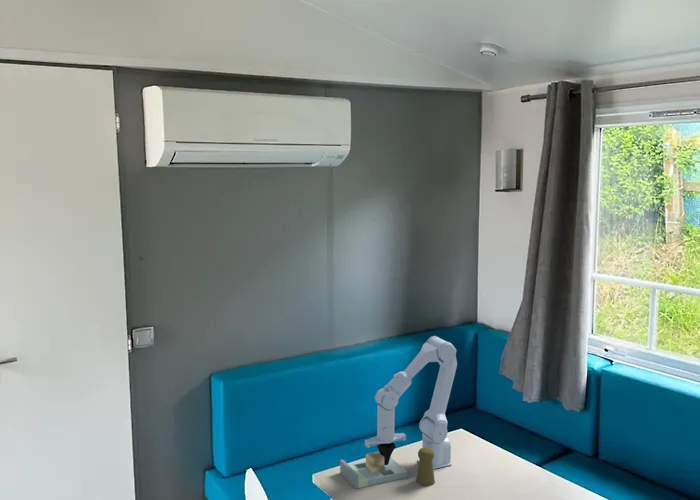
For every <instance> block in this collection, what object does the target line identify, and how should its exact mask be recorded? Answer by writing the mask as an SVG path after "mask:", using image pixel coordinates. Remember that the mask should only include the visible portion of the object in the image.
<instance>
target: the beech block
mask: <svg viewBox="0 0 700 500" xmlns="http://www.w3.org/2000/svg"><path fill="white" fill-rule="evenodd" d="M365 462H366V468H367V469H368V470H369V471H370V472H371V473H375V472H380V471H384V456H382V455H381V454H380V452H379V451H375V452H370V453H366V454H365Z"/></svg>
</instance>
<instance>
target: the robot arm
mask: <svg viewBox="0 0 700 500" xmlns="http://www.w3.org/2000/svg"><path fill="white" fill-rule="evenodd" d="M456 354H457V349H456V347H455V346H454V345H453V344H452V343H451V342H449V341H446V340H444V339H442V338H440V337H439V336H437V335H433V336H430V337H429V338H428V339H427V340H426V341H425V342H424V343H423V344H422V347H421V349H420V351H419V352H418V353H417V355H416V356H415V357H414V358H413V359H412V361H411V362H410V363H409V364H408V365H407V367H406V368H405V369H404V370H403V371H399V372H397V373H395V374H393V378H391V380H389V382H388V383H387V384H385V385H384V386H383V388H380V389H378V390H377V392H376V394H375V395H374V398H373V399H374V400H375V403H377V415H376V417H377V418H376V419H377V423H376V426H377V429H376V430H377V431H376V435H375V436H374V437H370V438H368V439H365V440H364V447H366V448H368V449H369V448H371V447H374V446H376V448H377V449H378V452H379V453H380V454H381V455H382V456H384V465H388V464H389V460H390V457H391V458H392V454H393V451H394V450H395V449H396V444H395V443H396V442H400V441H403V442H404V441H405V442H406V441H407V434H405V433H404V432H400V433H399V432H398V433H395V412H396V410H395V407H397V405H398V404H399V399H400V398H401V396H402V395H403V394H404V393H405V392H406V391H407V389H408V388H409V387H410V386H411V385H412V380H413V378H414V377H415V376H416V375H417V374H418V373H419V372H421V370H422V369H423V368H424V367H425V366H426V365H427V364H428V363H436V362H437V363H438V364H439V369H438V373H437V378H436V381H435V386H434V390H433V394H432V398H431V402H430V406H429V409H427V410H426V411H424V414H423V417H422V418H421V419H420V421H419V425H418V427H419V430H420V432H421V433H422V434H421V435H422V447H421V448H430V449H432V450H433V452H434V458H433V459H432V462H433V470H436V469H439V468H444V467H449V466H452V462H451V459H452V458H451V457H452V456H451V455H452V454H451V452H452V449H451V448H452V446H451V441H450V440H449V438H448V437H447V436H448V424H449V423H448V420H447V417H446V411H447V408H448V403H449V399H450V396H451V391H452V387H453V383H454V379H455V376H456V370H457V367H458V361H457V355H456ZM419 460H420V459H419V458H418V459H416V461H417V462H418V463H419Z"/></svg>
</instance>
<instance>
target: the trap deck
mask: <svg viewBox="0 0 700 500" xmlns="http://www.w3.org/2000/svg"><path fill="white" fill-rule="evenodd" d="M339 461H340V462H339V467H340V469H339V471H340V472H339V473H340V475H342V476H343V478H344V479H346V481H348V483H349V484H350V485H351V486H352V487H353V488H354V489H356V488H357V489H360V488H365V487H370V486H374V485H378V484H383V483H387V482H391V481H396V480H401V479H405V478H408V470H406V469H405V468H404V467H403V466H401V465H400V464H399V463H398V462H397V461H395V459H393V458H392V456H391V457H390V460H389V464H388V465H384V471H380V472H375V473H371V472H370V471H369V470H368V469H367V468H366V461H363V462H358V463H354V464H348V463H347V462H346V461H345V459H340V460H339ZM357 489H356V490H357Z"/></svg>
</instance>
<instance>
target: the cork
mask: <svg viewBox="0 0 700 500" xmlns="http://www.w3.org/2000/svg"><path fill="white" fill-rule="evenodd" d="M417 456H418V459H420V460H419V462H418V465H417V466H418V467H417V474H416V480H415V482H416V483H417V484H418V485H420V486H423V487H430V486H433V485H435V483H436V479H435V469H433V462H432V459H433V458H434V452H433V450H432V449H430V448H422V447H421V448H419V450H418V452H417Z"/></svg>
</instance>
